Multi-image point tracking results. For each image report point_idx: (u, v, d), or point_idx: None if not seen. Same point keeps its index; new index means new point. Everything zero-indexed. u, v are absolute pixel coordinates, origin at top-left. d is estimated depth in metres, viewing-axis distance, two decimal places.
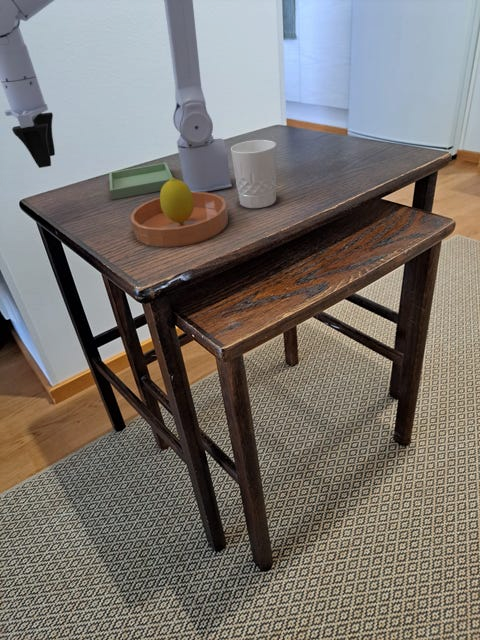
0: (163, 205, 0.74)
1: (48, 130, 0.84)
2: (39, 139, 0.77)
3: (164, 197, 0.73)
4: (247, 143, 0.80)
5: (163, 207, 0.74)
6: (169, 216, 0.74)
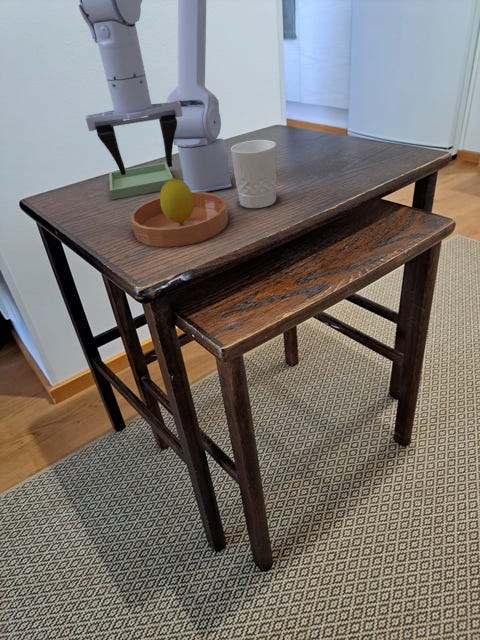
0: (163, 205, 0.74)
1: None
2: None
3: (164, 197, 0.73)
4: (247, 143, 0.80)
5: (163, 207, 0.74)
6: (169, 216, 0.74)
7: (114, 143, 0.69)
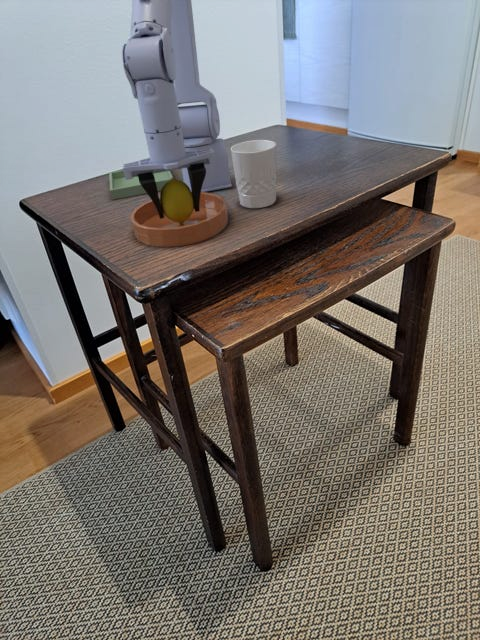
0: (163, 205, 0.74)
1: None
2: None
3: (164, 197, 0.73)
4: (247, 143, 0.80)
5: (163, 207, 0.74)
6: (169, 216, 0.74)
7: (155, 190, 0.71)
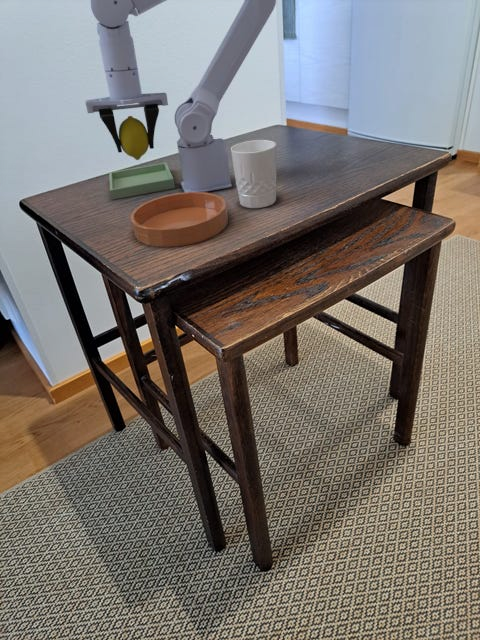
0: (121, 139, 0.84)
1: None
2: None
3: (122, 132, 0.83)
4: (247, 143, 0.80)
5: (121, 141, 0.84)
6: (126, 150, 0.85)
7: (113, 124, 0.81)
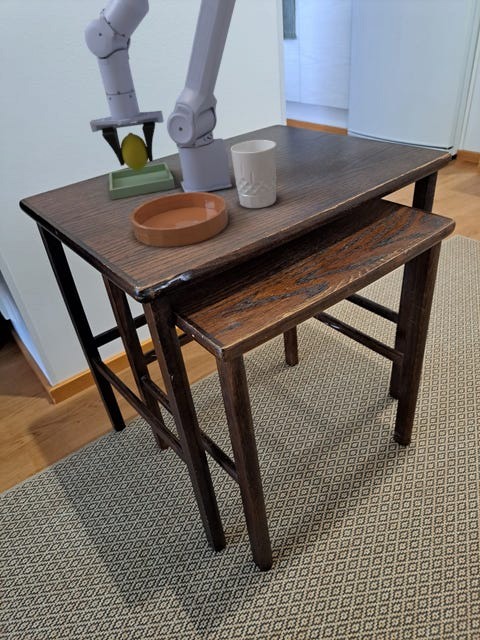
0: (122, 154, 0.93)
1: (118, 140, 0.94)
2: None
3: (122, 147, 0.92)
4: (247, 143, 0.80)
5: (122, 156, 0.94)
6: (127, 163, 0.94)
7: (114, 141, 0.91)
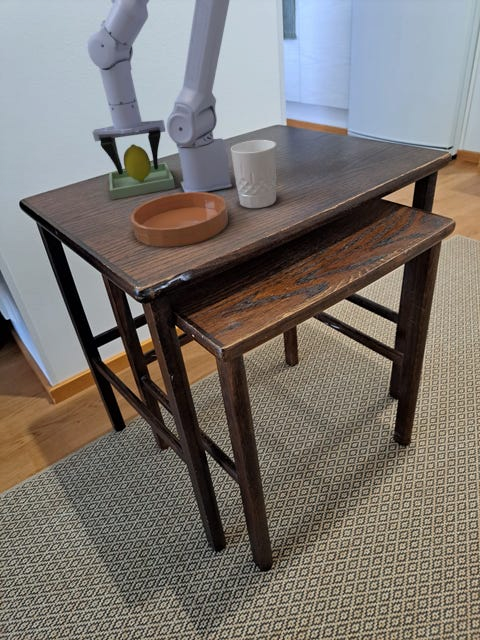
0: (125, 165, 0.95)
1: (116, 150, 0.95)
2: None
3: (125, 159, 0.94)
4: (247, 143, 0.80)
5: (125, 167, 0.95)
6: (130, 174, 0.95)
7: (113, 151, 0.92)
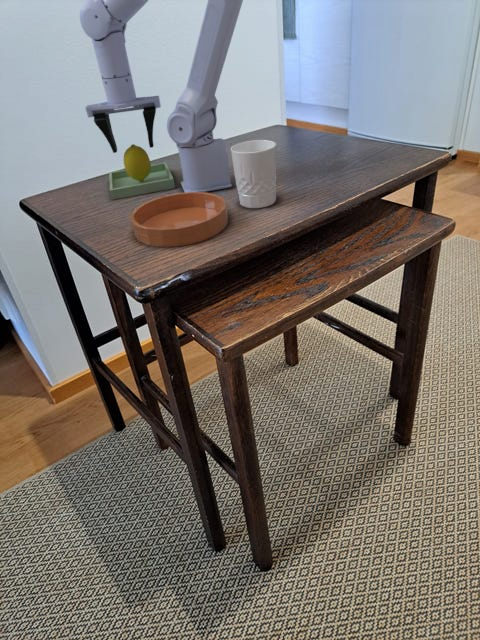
0: (125, 165, 0.95)
1: None
2: None
3: (125, 159, 0.94)
4: (247, 143, 0.80)
5: (125, 167, 0.95)
6: (130, 174, 0.95)
7: (106, 127, 0.89)
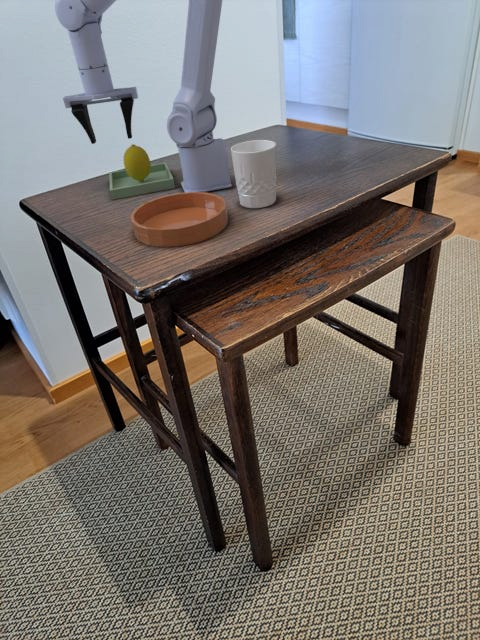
0: (125, 165, 0.95)
1: (89, 118, 0.93)
2: None
3: (125, 159, 0.94)
4: (247, 143, 0.80)
5: (125, 167, 0.95)
6: (130, 174, 0.95)
7: (84, 118, 0.90)
